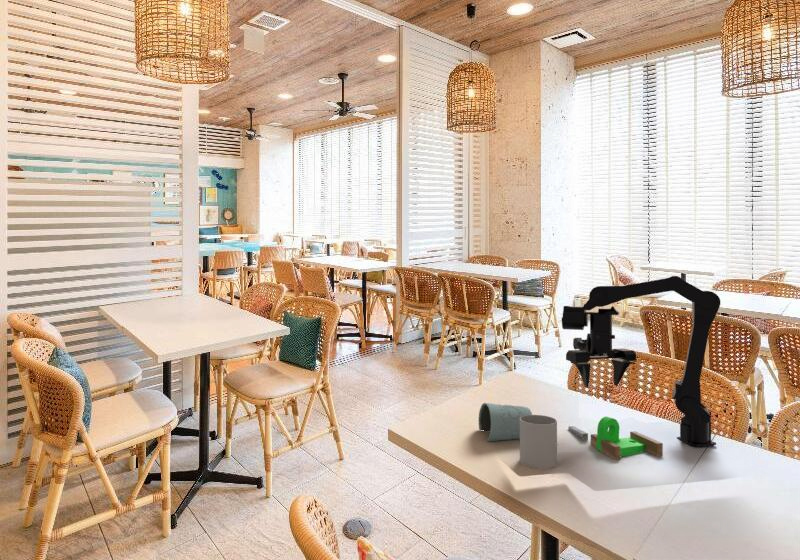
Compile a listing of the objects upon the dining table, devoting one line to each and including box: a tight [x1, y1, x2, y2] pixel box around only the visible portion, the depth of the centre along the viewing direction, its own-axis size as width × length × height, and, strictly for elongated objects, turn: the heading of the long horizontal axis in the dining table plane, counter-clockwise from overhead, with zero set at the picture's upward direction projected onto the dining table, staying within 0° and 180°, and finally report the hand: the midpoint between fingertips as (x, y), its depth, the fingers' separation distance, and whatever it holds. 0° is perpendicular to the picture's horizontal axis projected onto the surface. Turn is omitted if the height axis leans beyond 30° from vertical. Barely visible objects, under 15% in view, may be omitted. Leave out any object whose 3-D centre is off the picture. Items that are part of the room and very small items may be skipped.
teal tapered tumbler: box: [478, 402, 533, 442], centre depth 132 cm, size 10×10×12 cm
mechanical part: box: [595, 416, 645, 457], centre depth 124 cm, size 12×6×8 cm, turn 117°
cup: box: [519, 414, 558, 470], centre depth 116 cm, size 8×8×10 cm
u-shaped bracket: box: [567, 425, 589, 442], centre depth 132 cm, size 12×8×3 cm, turn 102°
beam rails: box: [590, 430, 664, 461], centre depth 124 cm, size 13×10×3 cm
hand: (601, 386), depth 139 cm, fingers open, 9 cm apart
